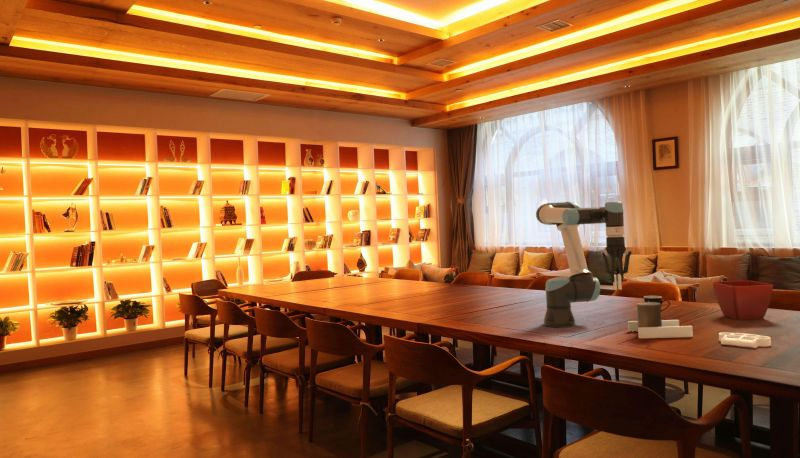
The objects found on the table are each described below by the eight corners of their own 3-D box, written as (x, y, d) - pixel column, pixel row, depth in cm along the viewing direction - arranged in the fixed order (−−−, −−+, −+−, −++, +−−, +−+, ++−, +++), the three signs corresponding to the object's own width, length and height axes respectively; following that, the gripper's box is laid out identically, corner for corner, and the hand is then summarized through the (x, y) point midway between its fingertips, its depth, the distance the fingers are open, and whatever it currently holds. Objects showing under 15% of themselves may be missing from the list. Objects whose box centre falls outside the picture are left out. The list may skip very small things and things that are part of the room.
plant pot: (776, 319, 261) (774, 284, 261) (735, 321, 261) (733, 286, 261) (751, 313, 280) (749, 280, 280) (713, 315, 280) (711, 281, 280)
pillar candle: (664, 336, 238) (663, 301, 238) (640, 336, 240) (639, 302, 240) (659, 332, 248) (657, 298, 248) (635, 332, 250) (634, 299, 250)
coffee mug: (640, 316, 287) (640, 297, 287) (652, 314, 290) (651, 295, 290) (659, 319, 276) (658, 299, 276) (671, 317, 280) (671, 297, 280)
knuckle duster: (712, 345, 221) (723, 338, 231) (764, 351, 208) (774, 343, 218) (711, 336, 221) (723, 330, 231) (764, 342, 208) (774, 335, 218)
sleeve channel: (639, 338, 237) (638, 327, 237) (628, 331, 253) (627, 321, 252) (692, 336, 235) (692, 326, 235) (678, 329, 250) (677, 319, 250)
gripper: (600, 237, 242) (603, 291, 242) (634, 235, 240) (637, 289, 241) (596, 236, 249) (598, 288, 250) (629, 235, 248) (631, 287, 248)
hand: (617, 289), depth 245 cm, fingers closed
